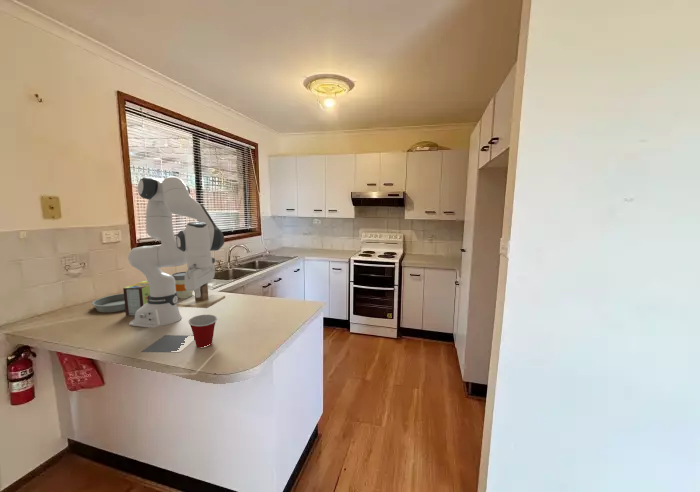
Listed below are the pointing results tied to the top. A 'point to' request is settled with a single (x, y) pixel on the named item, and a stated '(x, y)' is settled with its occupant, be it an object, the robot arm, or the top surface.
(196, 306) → the lid
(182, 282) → the reusable coffee cup
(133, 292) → the protein box
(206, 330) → the plastic cup
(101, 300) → the cake pan
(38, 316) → the top surface
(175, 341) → the mat
